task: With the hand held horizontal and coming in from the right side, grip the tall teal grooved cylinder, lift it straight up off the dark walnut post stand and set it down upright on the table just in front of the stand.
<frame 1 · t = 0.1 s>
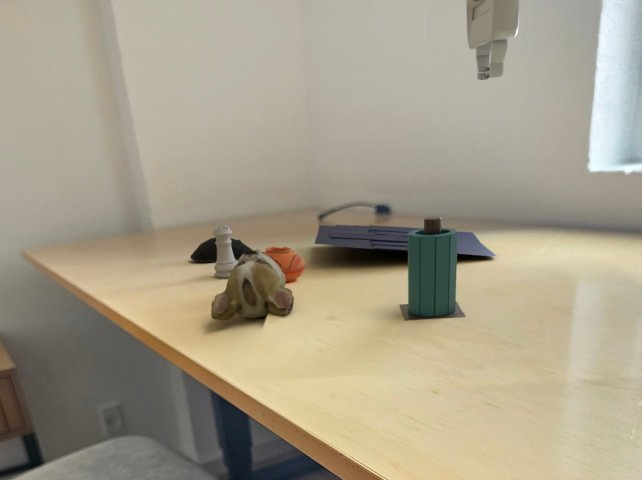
hand: (489, 78, 103), 26 cm above the table, tool pointing down, fingers open, 8 cm apart
pot: (280, 290, 100), on the table
rook chess piece: (227, 276, 111), on the table
stand: (431, 322, 79), on the table
ceramic sculpture: (257, 316, 88), on the table
papers: (400, 252, 119), on the table
gaming mouse: (230, 258, 126), on the table
teal grooved cylinder: (431, 310, 78), point 1 cm above the table, touching stand
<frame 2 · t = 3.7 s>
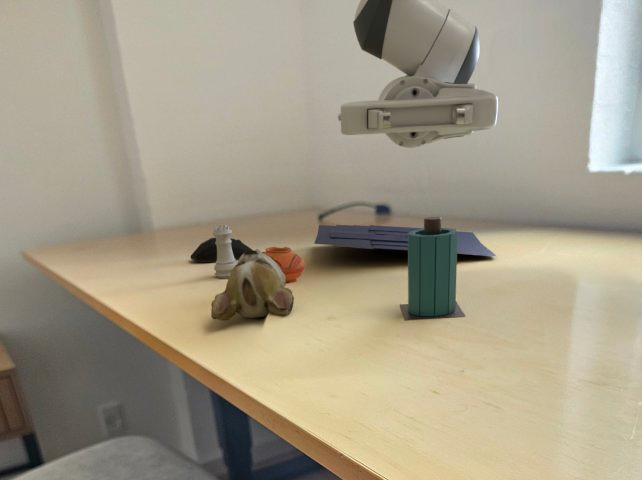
hand: (423, 118, 80), 22 cm above the table, tool horizontal, fingers open, 8 cm apart
nothing on the table moved.
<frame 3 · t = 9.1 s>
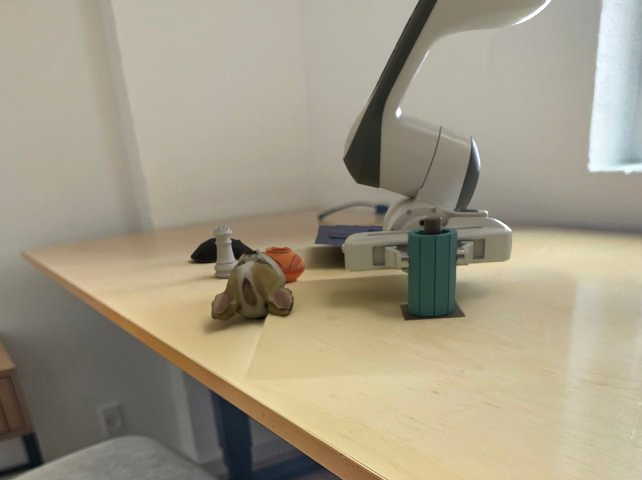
hand: (433, 260, 75), 8 cm above the table, tool horizontal, fingers closed on teal grooved cylinder, 5 cm apart
teal grooved cylinder: (431, 310, 78), point 2 cm above the table, touching gripper, stand
everything else where it was.
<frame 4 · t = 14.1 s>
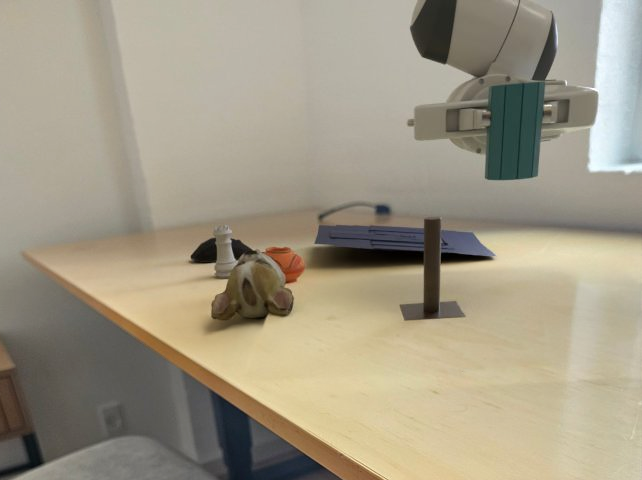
hand: (517, 116, 68), 22 cm above the table, tool horizontal, fingers closed on teal grooved cylinder, 5 cm apart
teal grooved cylinder: (510, 177, 72), point 16 cm above the table, touching gripper
everything else where it was.
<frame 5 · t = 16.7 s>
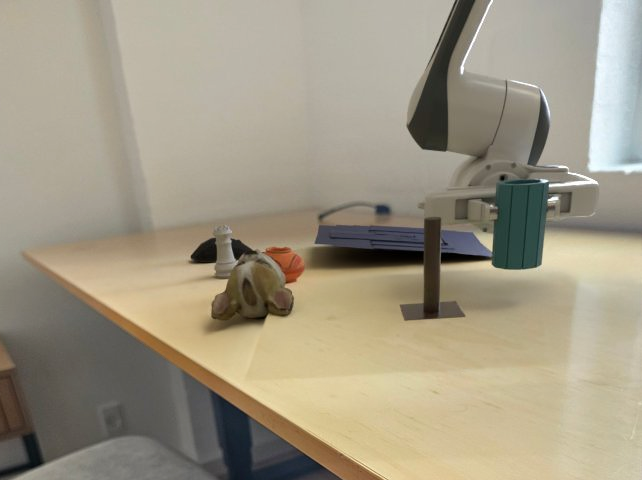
hand: (522, 211, 73), 12 cm above the table, tool horizontal, fingers closed on teal grooved cylinder, 5 cm apart
teal grooved cylinder: (516, 264, 76), point 6 cm above the table, touching gripper
everything else where it was.
when the fingers open (6 cm above the table, at t = 18.9 s): teal grooved cylinder stays where it is, on the table.
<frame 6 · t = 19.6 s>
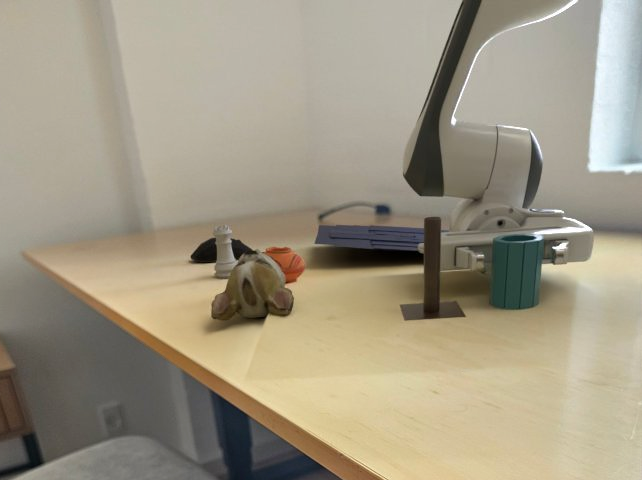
hand: (519, 260, 75), 7 cm above the table, tool horizontal, fingers open, 8 cm apart
teal grooved cylinder: (512, 315, 79), on the table
everything else where it was.
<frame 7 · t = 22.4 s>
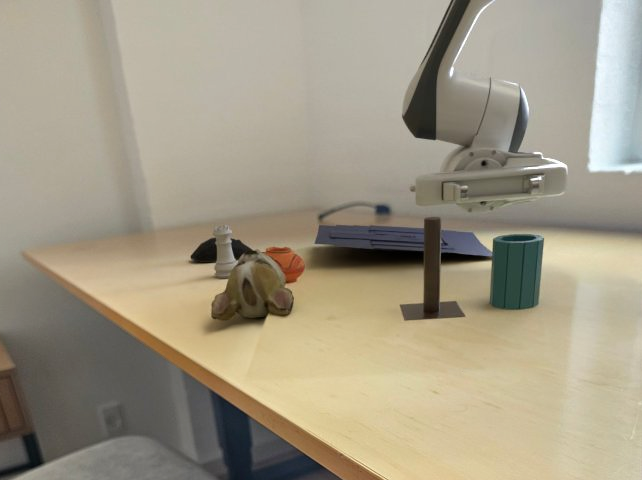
hand: (499, 190, 84), 13 cm above the table, tool horizontal, fingers open, 8 cm apart
nothing on the table moved.
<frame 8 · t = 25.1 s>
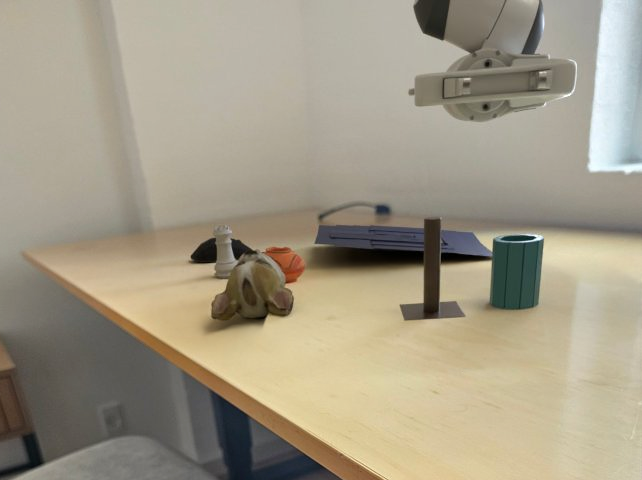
hand: (504, 82, 78), 25 cm above the table, tool horizontal, fingers open, 8 cm apart
nothing on the table moved.
at the end: teal grooved cylinder inside the target area (0.1 cm from its centre), on the table; teal grooved cylinder tilted 0°; the gripper is holding nothing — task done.
